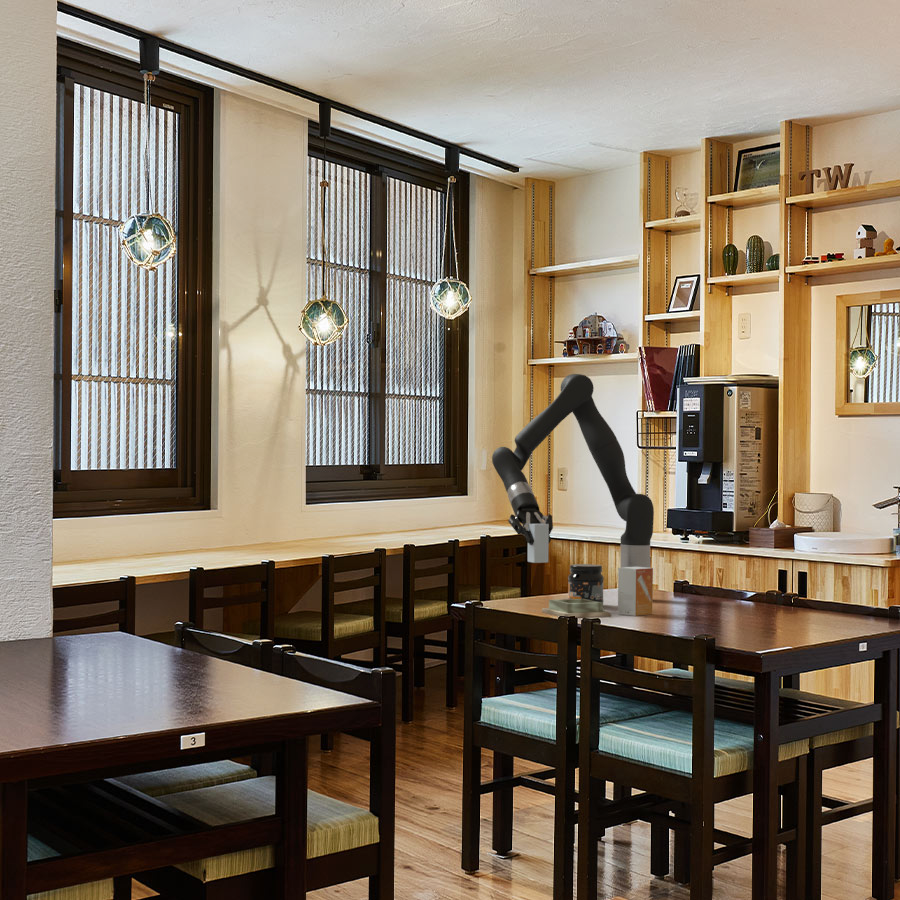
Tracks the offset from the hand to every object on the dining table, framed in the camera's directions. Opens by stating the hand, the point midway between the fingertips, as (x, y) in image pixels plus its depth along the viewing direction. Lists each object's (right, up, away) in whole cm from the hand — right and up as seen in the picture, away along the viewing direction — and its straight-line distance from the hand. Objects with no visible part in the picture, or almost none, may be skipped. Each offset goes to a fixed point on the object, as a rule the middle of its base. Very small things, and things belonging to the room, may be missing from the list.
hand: (540, 542), depth 315 cm
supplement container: (+14, -20, +9) cm, 26 cm away
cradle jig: (+9, -19, -13) cm, 24 cm away
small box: (+26, -19, -11) cm, 34 cm away
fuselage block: (-1, -6, +1) cm, 6 cm away
